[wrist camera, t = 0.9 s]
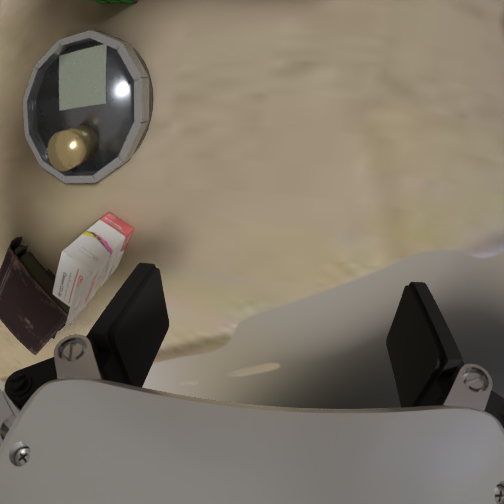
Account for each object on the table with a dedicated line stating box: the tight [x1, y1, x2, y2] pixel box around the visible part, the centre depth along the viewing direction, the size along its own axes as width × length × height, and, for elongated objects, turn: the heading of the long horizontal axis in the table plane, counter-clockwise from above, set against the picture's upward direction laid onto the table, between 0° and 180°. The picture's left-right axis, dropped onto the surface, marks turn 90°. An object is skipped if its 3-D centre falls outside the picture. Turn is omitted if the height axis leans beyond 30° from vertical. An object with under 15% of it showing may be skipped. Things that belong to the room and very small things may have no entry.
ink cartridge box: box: [53, 212, 134, 325], centre depth 37 cm, size 9×5×15 cm, turn 146°
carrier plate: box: [23, 30, 153, 183], centre depth 31 cm, size 20×20×6 cm
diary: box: [0, 237, 70, 355], centre depth 52 cm, size 19×25×5 cm
